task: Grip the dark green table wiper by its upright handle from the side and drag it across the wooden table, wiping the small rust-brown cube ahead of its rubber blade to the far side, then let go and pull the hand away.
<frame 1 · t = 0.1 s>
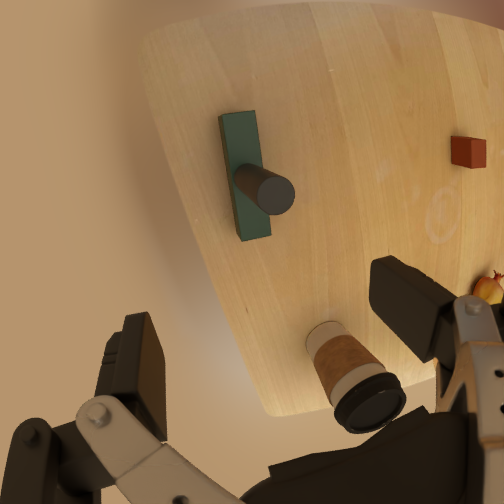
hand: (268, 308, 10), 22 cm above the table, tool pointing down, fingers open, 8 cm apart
coffee cup: (324, 337, 41), on the table
fruit: (476, 286, 47), on the table
wiper: (240, 172, 30), on the table
rust-brown cube: (459, 149, 35), on the table
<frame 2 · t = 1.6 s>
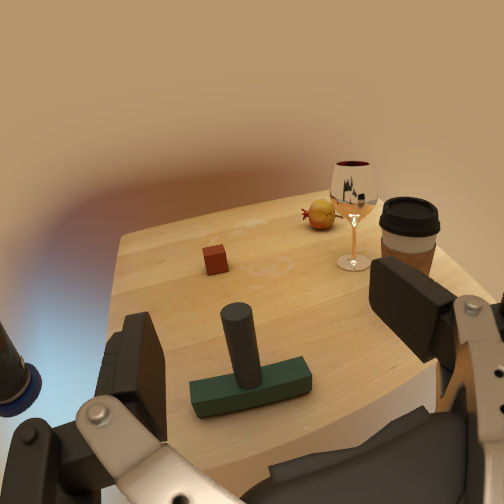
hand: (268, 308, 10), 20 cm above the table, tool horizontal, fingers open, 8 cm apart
coffee cup: (400, 305, 41), on the table
fruit: (322, 228, 72), on the table
wiper: (253, 400, 30), on the table
wineglass: (353, 263, 54), on the table
rust-brown cube: (217, 269, 59), on the table
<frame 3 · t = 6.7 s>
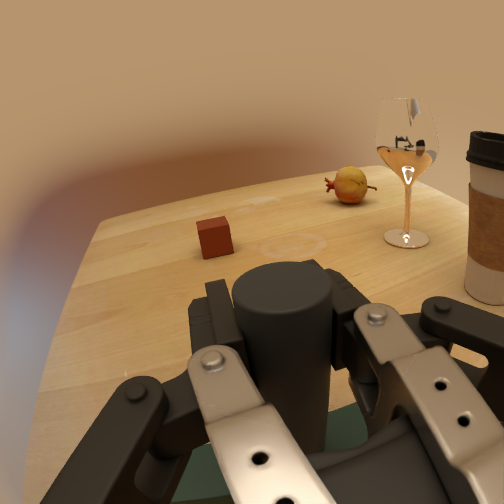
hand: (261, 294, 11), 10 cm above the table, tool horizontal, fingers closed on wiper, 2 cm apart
coffee cup: (488, 290, 24), on the table
fruit: (350, 203, 55), on the table
wiper: (296, 477, 13), on the table, touching gripper
wineglass: (406, 239, 37), on the table
rust-brown cube: (217, 250, 42), on the table
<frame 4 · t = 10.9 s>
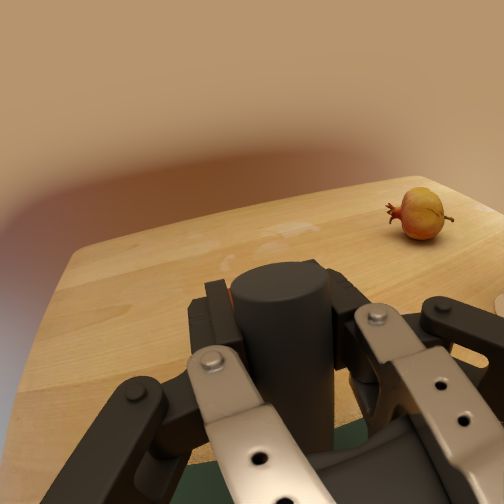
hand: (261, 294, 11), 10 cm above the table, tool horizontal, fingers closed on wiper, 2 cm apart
fruit: (419, 239, 37), on the table
wiper: (304, 497, 11), on the table, tilted 8°, touching gripper
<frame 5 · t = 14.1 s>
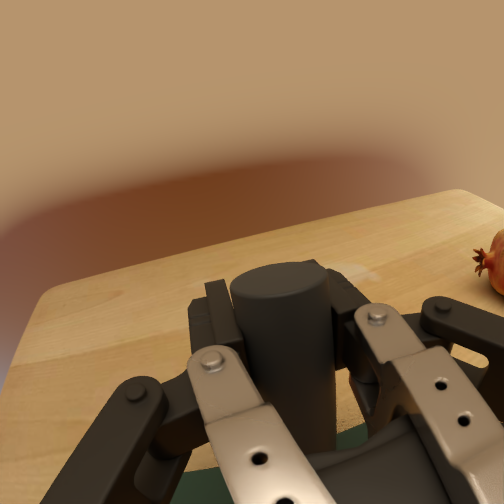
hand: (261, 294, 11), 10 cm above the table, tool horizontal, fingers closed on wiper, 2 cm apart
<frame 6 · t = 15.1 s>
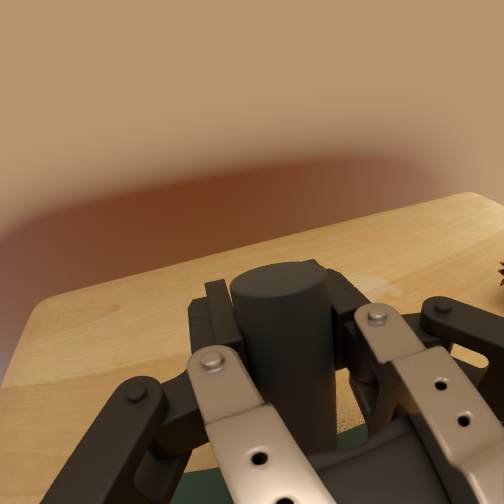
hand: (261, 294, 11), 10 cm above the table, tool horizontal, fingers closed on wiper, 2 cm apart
when the fingers open (10 cm above the table, at t = 15.3 s): wiper stays where it is, on the table.
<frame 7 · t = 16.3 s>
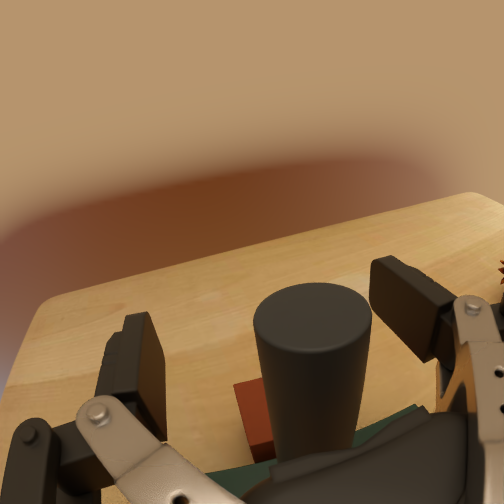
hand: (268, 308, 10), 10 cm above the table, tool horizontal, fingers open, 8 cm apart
wiper: (311, 500, 11), on the table
rust-brown cube: (286, 442, 15), on the table
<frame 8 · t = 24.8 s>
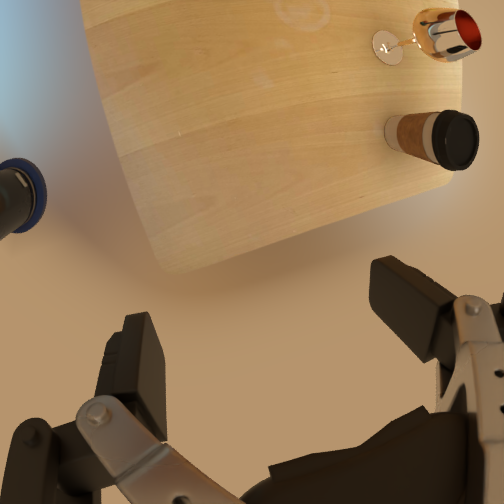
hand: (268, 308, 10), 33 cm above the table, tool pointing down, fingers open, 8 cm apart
coffee cup: (397, 133, 44), on the table
wineglass: (386, 47, 38), on the table
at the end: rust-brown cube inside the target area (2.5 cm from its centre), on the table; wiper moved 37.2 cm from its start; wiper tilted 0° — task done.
